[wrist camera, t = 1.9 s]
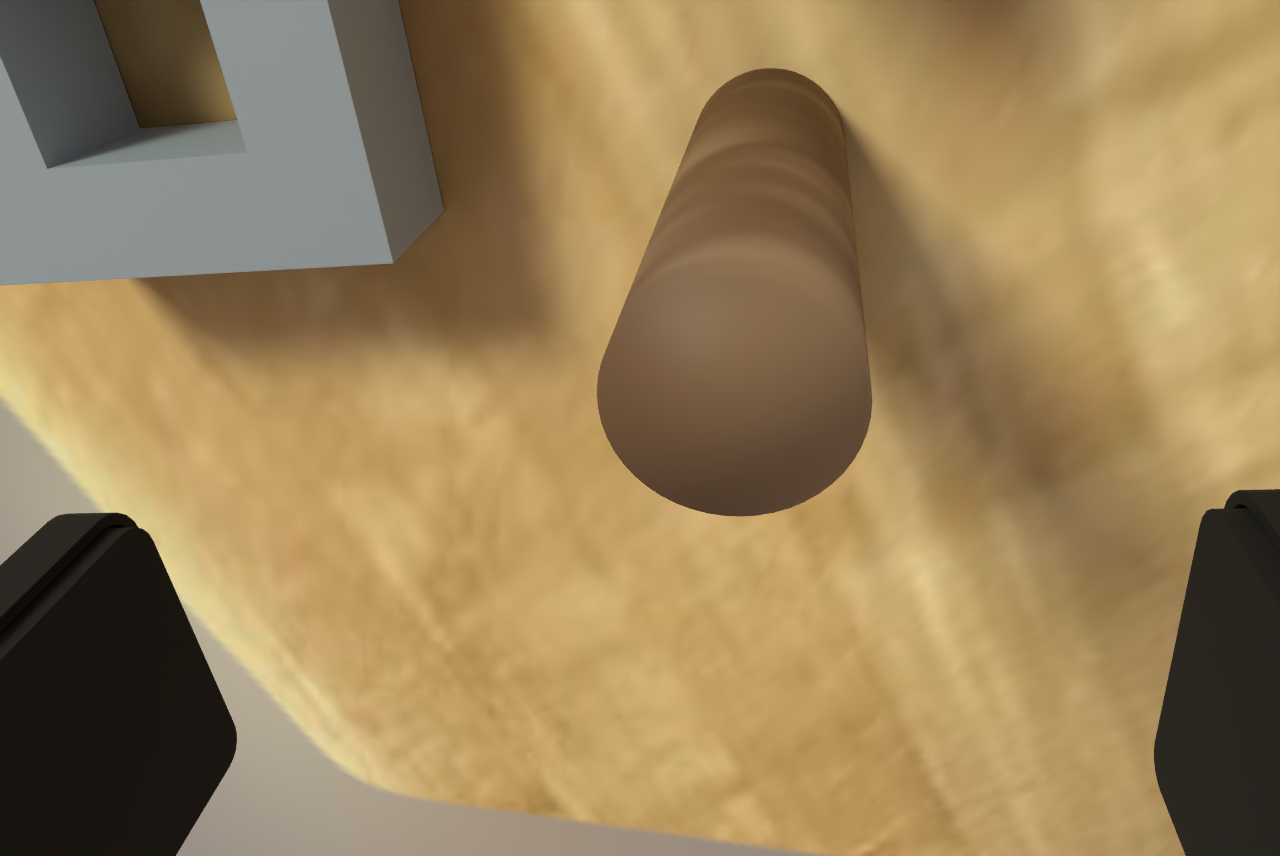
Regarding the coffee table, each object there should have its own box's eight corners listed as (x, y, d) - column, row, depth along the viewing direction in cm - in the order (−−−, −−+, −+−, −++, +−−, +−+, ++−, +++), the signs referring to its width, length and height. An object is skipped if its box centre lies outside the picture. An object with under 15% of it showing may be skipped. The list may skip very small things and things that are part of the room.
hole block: (337, -282, 19) (251, -303, 16) (444, 211, 24) (393, 263, 21) (-93, -210, 21) (-240, -217, 18) (88, 234, 26) (-4, 285, 23)
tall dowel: (843, 61, 21) (872, 268, 11) (844, 214, 23) (871, 516, 13) (687, 75, 22) (578, 284, 12) (699, 222, 24) (614, 517, 13)
